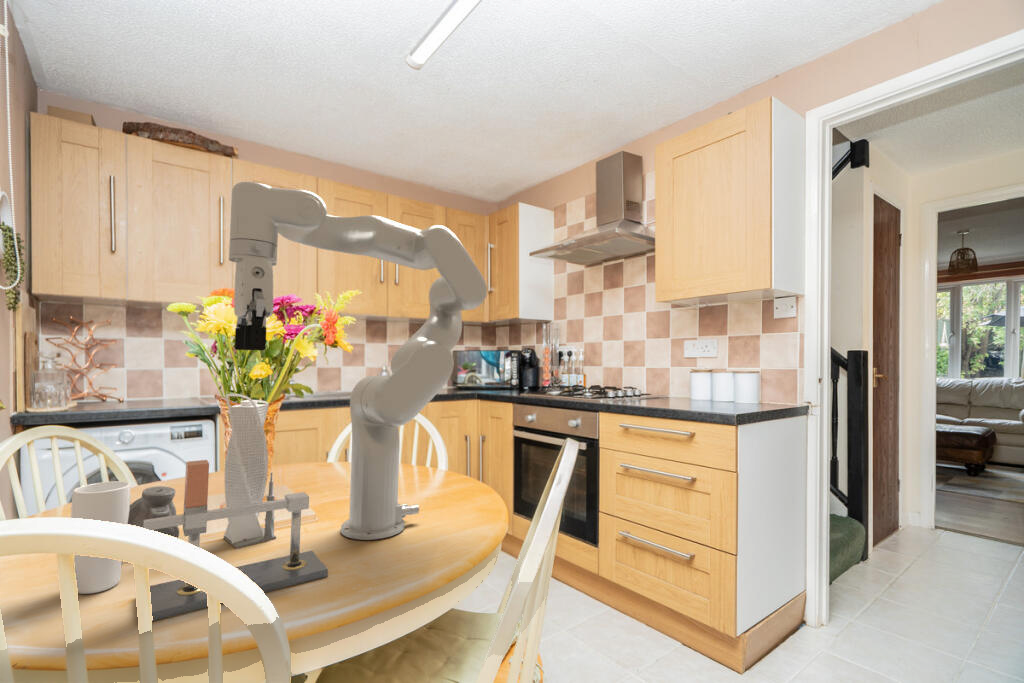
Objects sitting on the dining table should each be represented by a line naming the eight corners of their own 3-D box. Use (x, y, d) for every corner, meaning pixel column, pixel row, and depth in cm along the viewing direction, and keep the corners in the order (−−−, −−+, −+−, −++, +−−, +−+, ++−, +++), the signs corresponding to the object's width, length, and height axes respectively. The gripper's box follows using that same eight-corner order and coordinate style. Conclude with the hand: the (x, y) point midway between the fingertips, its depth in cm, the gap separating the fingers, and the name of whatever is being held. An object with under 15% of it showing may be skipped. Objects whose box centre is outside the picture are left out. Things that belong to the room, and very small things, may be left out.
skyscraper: (227, 550, 86) (234, 395, 87) (213, 538, 92) (219, 392, 93) (275, 538, 92) (281, 393, 93) (259, 527, 98) (265, 390, 99)
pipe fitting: (118, 537, 90) (128, 484, 90) (170, 531, 95) (179, 480, 95) (125, 566, 81) (136, 506, 81) (182, 557, 87) (191, 501, 87)
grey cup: (137, 577, 75) (142, 481, 76) (101, 598, 69) (107, 493, 69) (93, 576, 75) (98, 480, 76) (53, 598, 68) (59, 492, 69)
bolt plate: (311, 557, 84) (312, 549, 84) (327, 576, 77) (327, 567, 77) (139, 596, 70) (139, 586, 70) (139, 624, 62) (139, 614, 62)
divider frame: (301, 559, 80) (304, 491, 81) (306, 566, 78) (309, 496, 78) (139, 596, 67) (143, 515, 68) (139, 605, 65) (143, 521, 65)
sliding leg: (201, 577, 72) (206, 459, 72) (203, 587, 69) (209, 463, 70) (180, 582, 70) (185, 461, 71) (182, 592, 67) (187, 466, 68)
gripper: (287, 249, 81) (283, 350, 80) (266, 264, 95) (262, 350, 94) (237, 242, 76) (232, 349, 76) (222, 258, 90) (218, 349, 89)
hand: (249, 349), depth 85 cm, fingers open, 9 cm apart
